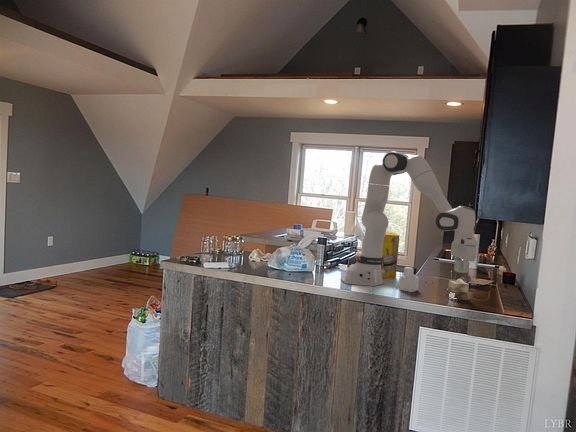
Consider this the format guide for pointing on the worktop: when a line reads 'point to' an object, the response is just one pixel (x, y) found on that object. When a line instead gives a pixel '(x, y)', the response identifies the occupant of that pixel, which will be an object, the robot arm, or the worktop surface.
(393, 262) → the packaging box
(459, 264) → the sage cube
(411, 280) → the medicine bottle
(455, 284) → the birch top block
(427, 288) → the worktop surface
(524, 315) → the worktop surface
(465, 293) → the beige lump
